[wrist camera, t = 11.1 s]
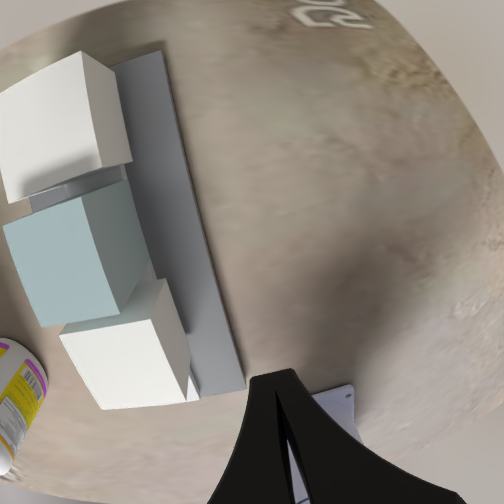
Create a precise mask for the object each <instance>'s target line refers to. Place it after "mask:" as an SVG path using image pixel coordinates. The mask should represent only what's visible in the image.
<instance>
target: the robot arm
mask: <svg viewBox="0 0 504 504" xmlns="http://www.w3.org/2000/svg"><path fill="white" fill-rule="evenodd" d="M347 394H348V395H347ZM207 504H466V502H465V501H464V500H463V499H462V498H461V497H460V496H459V495H458V494H457V493H456V492H454V491H450V490H448V489H445V488H442V487H439V486H437V485H434V484H432V483H429V482H427V481H424V480H422V479H420V478H418V477H416V476H414V475H412V474H409V473H407V472H405V471H404V470H402V469H400V468H398V467H397V466H395V465H393V464H391V463H390V462H388V461H386V460H385V459H383V458H381V457H380V456H378V455H377V454H375V453H374V452H372V451H371V450H369V449H368V448H367V447H365V446H364V444H363V442H362V440H361V438H360V436H359V433H358V431H357V429H356V427H355V425H354V388H353V386H352V385H345V386H342V387H338V388H335V389H332V390H328V391H325V392H321V393H318V394H314V395H311V394H310V393H309V392H308V391H307V389H306V388H305V387H304V385H303V384H302V382H301V381H300V379H299V378H298V376H297V374H296V373H295V371H294V370H293V369H291V368H289V369H284V370H280V371H276V372H272V373H267V374H263V375H258V376H254V377H252V378H251V379H250V385H249V395H248V401H247V406H246V410H245V414H244V418H243V422H242V426H241V429H240V433H239V436H238V438H237V441H236V444H235V447H234V450H233V453H232V455H231V458H230V460H229V462H228V465H227V467H226V469H225V471H224V473H223V475H222V477H221V479H220V481H219V483H218V485H217V487H216V489H215V491H214V492H213V494H212V496H211V498H210V499H209V501H208V503H207Z"/></svg>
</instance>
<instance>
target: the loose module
mask: <svg viewBox="0 0 504 504" xmlns="http://www.w3.org/2000/svg"><path fill="white" fill-rule="evenodd" d="M2 227H3V231H4V234H5V237H6V240H7V243H8V246H9V249H10V252H11V255H12V258H13V261H14V264H15V266H16V269H17V272H18V274H19V277H20V280H21V282H22V285H23V287H24V289H25V292H26V294H27V297H28V299H29V301H30V304H31V306H32V308H33V310H34V313H35V315H36V317H37V319H38V321H39V323H40V325H41V328H43V327H49V326H55V325H61V324H67V323H73V322H79V321H84V320H90V319H96V318H101V317H107V316H112V315H118V314H120V313H121V312H122V310H123V308H124V306H125V304H126V302H127V301H128V299H129V297H130V295H131V293H132V291H133V290H134V288H135V286H136V284H137V283H138V281H139V279H140V277H141V276H142V274H143V272H144V270H145V269H146V267H147V265H148V263H149V262H150V257H149V253H148V250H147V247H146V243H145V240H144V237H143V233H142V230H141V226H140V223H139V219H138V215H137V212H136V208H135V204H134V201H133V197H132V193H131V189H130V185H129V181H128V179H126V180H122V181H119V182H116V183H113V184H109V185H106V186H103V187H100V188H97V189H94V190H91V191H88V192H85V193H82V194H79V195H76V196H73V197H70V198H67V199H64V200H62V201H59V202H57V203H54V204H52V205H49V206H47V207H45V208H42V209H40V210H37V211H35V212H33V213H30V214H28V215H26V216H24V217H21V218H19V219H17V220H15V221H13V222H10V223H8V224H6V225H4V226H2Z"/></svg>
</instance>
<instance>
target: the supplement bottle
mask: <svg viewBox="0 0 504 504" xmlns="http://www.w3.org/2000/svg"><path fill="white" fill-rule="evenodd" d="M47 390H48V381H47V377H46V374H45V372H44V369H43V368H42V366H41V364H40V363H39V361H38V360H37V359H36V358H35V357H34V355H33V354H32V353H31V352H29V351H28V350H27V349H26V348H25V347H23V346H22V345H21V344H19V343H17V342H15V341H13V340H11V339H7V338H0V475H4V474H6V473H7V472H8V471H9V470H10V468H11V466H12V464H13V461H14V459H15V457H16V455H17V452H18V450H19V448H20V446H21V444H22V442H23V440H24V438H25V436H26V434H27V432H28V429H29V427H30V425H31V423H32V421H33V419H34V418H35V416H36V414H37V412H38V410H39V408H40V406H41V404H42V402H43V400H44V398H45V396H46V394H47Z"/></svg>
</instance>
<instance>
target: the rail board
mask: <svg viewBox="0 0 504 504" xmlns="http://www.w3.org/2000/svg"><path fill="white" fill-rule="evenodd" d="M0 169H1V174H2V178H3V183H4V187H5V191H6V195H7V199H8V203H9V204H10V203H13V202H16V201H19V200H22V199H25V198H27V197H29V200H30V204H31V208H32V211H33V212H35V211H37V210H40V209H42V208H45V207H47V206H49V205H52V204H54V203H57V202H59V201H62V200H64V199H67V198H70V197H73V196H76V195H79V194H82V193H85V192H88V191H91V190H94V189H97V188H100V187H103V186H106V185H109V184H113V183H116V182H119V181H122V180H126V179H128V181H129V185H130V189H131V193H132V197H133V201H134V204H135V208H136V212H137V215H138V219H139V223H140V226H141V230H142V233H143V237H144V240H145V243H146V247H147V250H148V253H149V257H150V262H149V263H148V265H147V267H146V269H145V270H144V272H143V274H142V276H141V277H140V279H139V281H138V283H137V284H136V286H135V288H134V290H133V291H132V293H131V295H130V297H129V299H128V301H127V302H126V304H125V306H124V308H123V310H122V312H121V313H120V314H118V315H112V316H107V317H101V318H96V319H90V320H84V321H79V322H73V323H67V325H66V326H65V327H64V329H63V330H62V331H61V333H60V334H59V337H60V339H61V341H62V343H63V345H64V346H65V348H66V350H67V352H68V354H69V356H70V358H71V359H72V361H73V363H74V365H75V367H76V368H77V370H78V372H79V374H80V375H81V377H82V379H83V380H84V382H85V384H86V386H87V387H88V389H89V390H90V392H91V394H92V395H93V397H94V398H95V400H96V402H97V403H98V405H99V406H100V408H101V409H102V410H107V409H122V408H134V407H145V406H158V405H167V404H175V403H182V402H190V401H196V400H200V397H206V396H212V395H218V394H224V393H229V392H234V391H239V390H244V389H247V386H246V379H245V376H244V373H243V370H242V366H241V363H240V360H239V356H238V353H237V350H236V346H235V343H234V339H233V336H232V332H231V329H230V326H229V322H228V319H227V315H226V312H225V308H224V304H223V301H222V297H221V294H220V290H219V286H218V283H217V279H216V275H215V272H214V268H213V264H212V261H211V257H210V253H209V249H208V245H207V242H206V238H205V234H204V230H203V226H202V222H201V218H200V214H199V210H198V206H197V202H196V198H195V194H194V190H193V186H192V182H191V177H190V173H189V169H188V165H187V160H186V156H185V152H184V147H183V143H182V139H181V134H180V130H179V125H178V121H177V116H176V111H175V107H174V102H173V97H172V93H171V88H170V83H169V78H168V73H167V68H166V63H165V58H164V54H163V53H162V51H161V50H159V51H156V52H152V53H149V54H146V55H143V56H139V57H136V58H133V59H130V60H127V61H124V62H121V63H119V64H116V65H113V66H110V67H108V68H107V67H106V66H104V65H103V64H101V63H99V62H98V61H96V60H95V59H93V58H92V57H90V56H89V55H87V54H86V53H84V52H82V51H79V52H77V53H75V54H72V55H70V56H68V57H66V58H64V59H62V60H59V61H57V62H55V63H53V64H51V65H49V66H47V67H45V68H43V69H41V70H40V71H38V72H36V73H34V74H32V75H30V76H28V77H27V78H25V79H23V80H21V81H20V82H18V83H16V84H15V85H13V86H11V87H10V88H8V89H6V90H5V91H3V92H1V93H0Z"/></svg>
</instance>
